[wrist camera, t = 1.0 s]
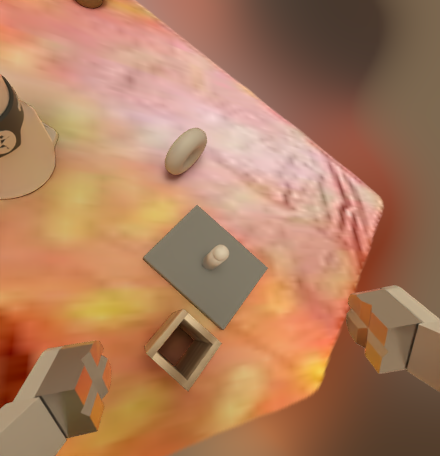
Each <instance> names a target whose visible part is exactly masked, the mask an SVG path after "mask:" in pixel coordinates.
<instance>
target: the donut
mask: <svg viewBox="0 0 440 456" xmlns="http://www.w3.org/2000/svg"><path fill="white" fill-rule="evenodd" d="M206 143H207V137H206V134H205V132H204V131H203V130H201V129H199V128H192V129H189V130H188V131H186V132H184V133H183V134H182V135H181V136H180V137H179V138H178V139H177V140H176V141H175V142H174V143H173V145H172V146H171V148H170V149H169V151H168V153H167V155H166V158H165V167H166V169H167V171H168V172H169V173H171V174H173V175H178V174H181V173H183V172H185V171H186V170H188V169H189V168H190V167H191V166H192V165H193V164H194V163H195V162H196V161H197V159H198V158H199V157H200V155H201V154H202V152H203V151H204V149H205V146H206Z"/></svg>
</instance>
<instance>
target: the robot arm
mask: <svg viewBox="0 0 440 456" xmlns="http://www.w3.org/2000/svg"><path fill="white" fill-rule="evenodd" d="M57 140H58V134H57V132H56V131H55V130H54V129H53V128H51V127H50V126H48V125H47V124H45V123H43V122H42V121H41V120H40V118H39V116H38V115H37V113H36V111H35V110H34V108H33V107H32V106H30V105H27V104H26V103H24V102H23V101H21V100H19V98H18V96H17V94H16V92H15V91H14V89H13V88H12V87H11V86H10V84H9V82H8V81H7V80H6V79H5V78H4V77H3V76H2V75H1V74H0V199H10V198H16V197H20V196H23V195H26V194H29V193H31V192H33V191H35V190H36V189H38V188H39V187H41V186H42V185H43V184H44V183H45V182H46V181H47V180H48V179H49V178H50V176H51V174H52V173H53V170H54V167H55V152H54V147H55V145H56V142H57ZM348 305H349V306H350V307H351V309H350V311H349V312H348V313H347V317H346V323H347V327H348V331H349V333H350V335H351V336H352V338H353V339H354V341H355V342H356V343H357V344H359V345H360V346H362V347H364V348H365V356H366V357H367V359H368V360H369V361H370V363H371V364H372V365H373V367H374V368H375V369H376V371H377V372H378V373H379V374H381V373H387V372H392V371H399V370H405V369H407V371H408V372H409V373H411V374H412V375H414V376H415V377H417V378H418V379H420V380H421V381H423V382H424V383H426V384H428V385H429V386H431V387H432V388H434V389H435V390H437V391H438V392H440V319H439V318H438V317H437V316H435V315H434V314H433V313H432V312H430V311H429V310H428V309H427V308H425V307H424V306H423V305H422V304H420V303H419V302H418V301H417V300H415V299H414V298H413V297H412V296H410V295H409V294H408V293H407V292H406V291H404V290H403V289H402V288H401V287H398V286H395V285H394V286H389V287H384V288H380V289H374V290H369V291H364V292H359V293H353V294H351V295H350V296H349V298H348ZM102 352H103V346H102V344H101V342H100V341H90V342H84V343H77V344H71V345H65V346H61V347H54V348H48V349H46V350H45V351H44V352H42V354H41V356H40V357H39V359H38V361H37V362H36V364H35V366H34V367H33V369H32V371H31V372H30V374H29V376H28V377H27V379H26V381H25V382H24V384H23V386H22V387H21V389H20V391H19V392H18V394H17V396H16V397H15V399H14V401H13V402H11V403H7V404H5V405H4V406H3V407H2V408H1V409H0V456H55V455H56V454H57V453H58V451H59V450H60V449H61V447H62V446H63V444H64V443H65V442H66V438H70V437H74V436H79V435H83V434H87V433H91V432H96V431H98V428H99V424H100V420H101V417H102V413H103V410H104V405H103V403H102V398H103V397H104V396H105V395H106V394H107V393H108V391H109V388H110V384H111V366H110V363H109V360H108V359H107V358H106V357H104V356H102Z"/></svg>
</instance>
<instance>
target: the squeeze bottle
mask: <svg viewBox="0 0 440 456" xmlns="http://www.w3.org/2000/svg"><path fill="white" fill-rule="evenodd" d="M76 1H77V2H78V3H79V4H81V5H83V6H85V7H89V8H96V7H99V6H100V5H101V4H102V0H76Z"/></svg>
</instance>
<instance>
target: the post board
mask: <svg viewBox="0 0 440 456" xmlns="http://www.w3.org/2000/svg"><path fill="white" fill-rule="evenodd" d="M143 260H144V261H145V262H147V263H148V264H149V265H150V266H151V267H152V268H153V269H154V270H155V271H156V272H158V273H159V274H160V275H161V276H162V277H163V278H164V279H165V280H166V281H168V282H169V283H170V284H171V285H172V286H173V287H174V288H175V289H176V290H178V291H179V292H180V293H181V294H182V295H183V296H184V297H185V298H186V299H188V300H189V301H190V302H191V303H192V304H193V305H194V306H195V307H196V308H198V309H199V310H200V311H201V312H202V313H203V314H204V315H205V316H206V317H208V318H209V319H210V320H211V321H212V322H213V323H214V324H215V325H216V326H218V327H219V328H220V329H221V330H224V329H225V327H226V326H227V324H228V323H229V322H230V320H231V319H232V317H233V316H234V315H235V313H236V312H237V310H238V309H239V308H240V306H241V305H242V303H243V302H244V301H245V299H246V298H247V296H248V295H249V294H250V292H251V291H252V289H253V288H254V287H255V285H256V284H257V282H258V281H259V280H260V278H261V277H262V275H263V274H264V273H265V271H266V270H267V267H266V266H265V265H264V264H263V263H262V262H260V261H259V260H258V259H257V258H256V257H255V256H254V255H253V254H252V253H250V252H249V251H248V250H247V249H246V248H245V247H244V246H243V245H241V244H240V243H239V242H238V241H237V240H236V239H235V238H234V237H232V236H231V235H230V234H229V233H228V232H227V231H226V230H225V229H224V228H222V227H221V226H220V225H219V224H218V223H217V222H216V221H215V220H213V219H212V218H211V217H210V216H209V215H208V214H207V213H206V212H204V211H203V210H202V209H201V208H200V207H199V206H198V205H196V206H195V207H194V208H193V209H192V210H191V211H190V212H189V213H188V214H187V215H186V216H185V217H184V218H183V219H182V220H181V221H180V222H179V223H178V224H177V225H176V226H175V227H174V228H173V229H172V230H171V231H170V232H169V233H168V234H167V235H166V236H165V237H164V238H163V239H162V240H161V241H160V242H159V243H157V244H156V245H155V246H154V247H153V248H152V249H151V250H150V251H149V252H148V253H147V254H146V255H145V256H144V257H143Z"/></svg>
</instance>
